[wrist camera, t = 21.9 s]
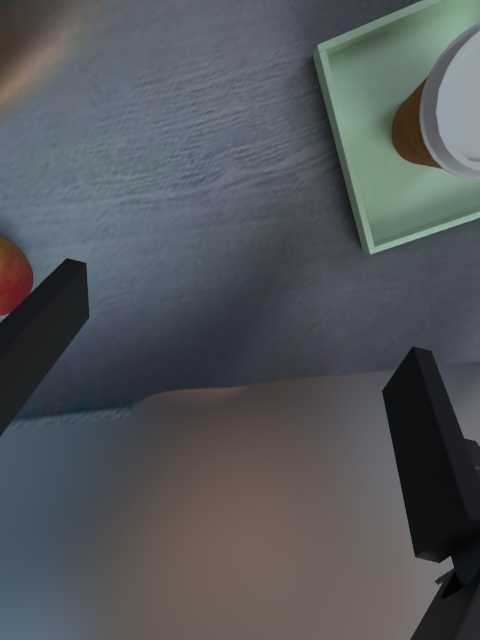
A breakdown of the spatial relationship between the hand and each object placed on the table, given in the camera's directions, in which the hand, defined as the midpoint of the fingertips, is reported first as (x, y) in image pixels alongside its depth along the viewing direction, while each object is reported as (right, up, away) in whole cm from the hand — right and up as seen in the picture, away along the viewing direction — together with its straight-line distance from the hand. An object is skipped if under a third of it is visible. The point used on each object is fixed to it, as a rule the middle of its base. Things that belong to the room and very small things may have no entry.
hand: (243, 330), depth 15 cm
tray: (+17, +18, +20) cm, 32 cm away
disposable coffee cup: (+17, +18, +20) cm, 31 cm away
